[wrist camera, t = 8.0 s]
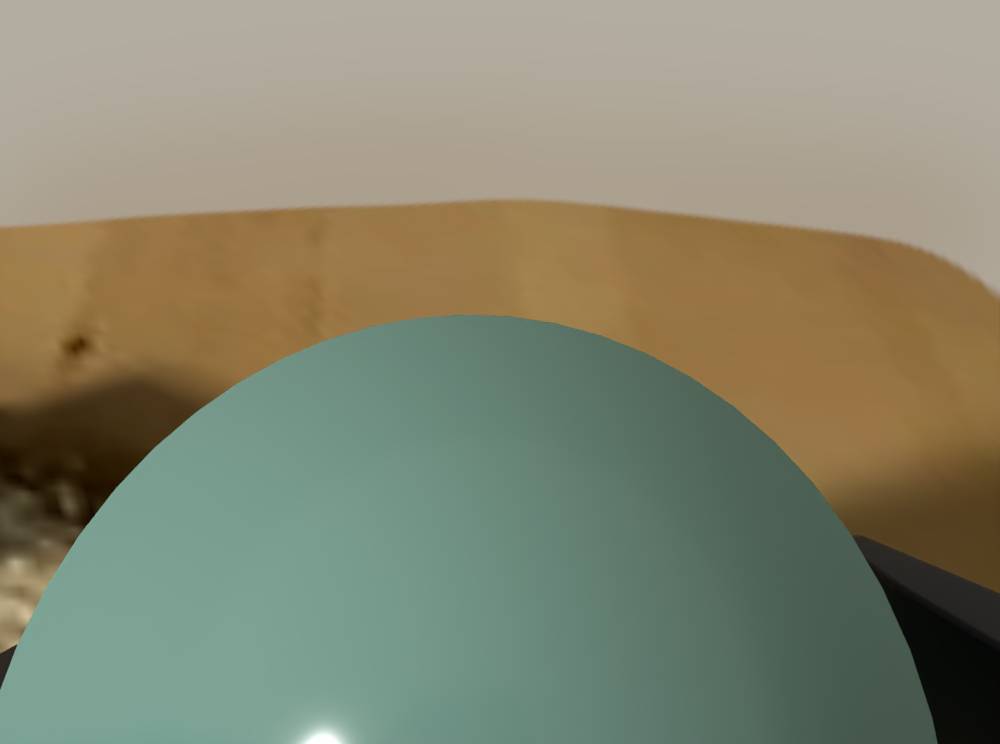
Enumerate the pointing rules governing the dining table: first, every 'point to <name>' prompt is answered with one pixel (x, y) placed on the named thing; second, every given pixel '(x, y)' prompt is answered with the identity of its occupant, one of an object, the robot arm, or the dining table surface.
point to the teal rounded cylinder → (465, 565)
